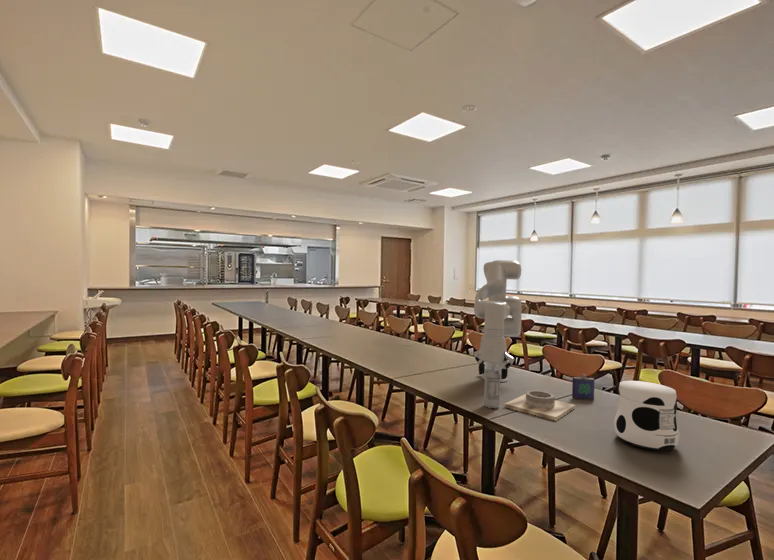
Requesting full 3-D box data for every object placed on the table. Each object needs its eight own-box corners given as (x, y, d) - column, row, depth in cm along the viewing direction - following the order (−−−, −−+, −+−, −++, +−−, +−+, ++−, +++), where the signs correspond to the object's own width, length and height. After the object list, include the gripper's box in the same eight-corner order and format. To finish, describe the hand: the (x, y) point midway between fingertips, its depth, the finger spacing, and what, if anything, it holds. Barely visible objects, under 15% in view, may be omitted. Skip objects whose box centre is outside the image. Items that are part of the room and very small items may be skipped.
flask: (592, 398, 172) (593, 373, 171) (595, 400, 169) (596, 375, 168) (570, 397, 172) (571, 372, 172) (573, 399, 169) (574, 374, 169)
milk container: (618, 428, 137) (620, 376, 137) (680, 442, 126) (682, 386, 126) (608, 443, 124) (610, 387, 124) (676, 461, 113) (679, 399, 113)
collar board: (504, 407, 156) (505, 393, 156) (526, 397, 170) (526, 384, 170) (556, 421, 142) (556, 406, 142) (574, 408, 157) (575, 395, 157)
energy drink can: (499, 405, 159) (500, 368, 158) (499, 409, 153) (500, 371, 153) (484, 403, 160) (485, 366, 160) (483, 408, 154) (484, 370, 154)
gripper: (469, 331, 159) (468, 373, 159) (510, 336, 147) (508, 382, 147) (479, 330, 165) (478, 371, 164) (518, 335, 153) (517, 379, 153)
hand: (492, 376), depth 156 cm, fingers open, 9 cm apart
